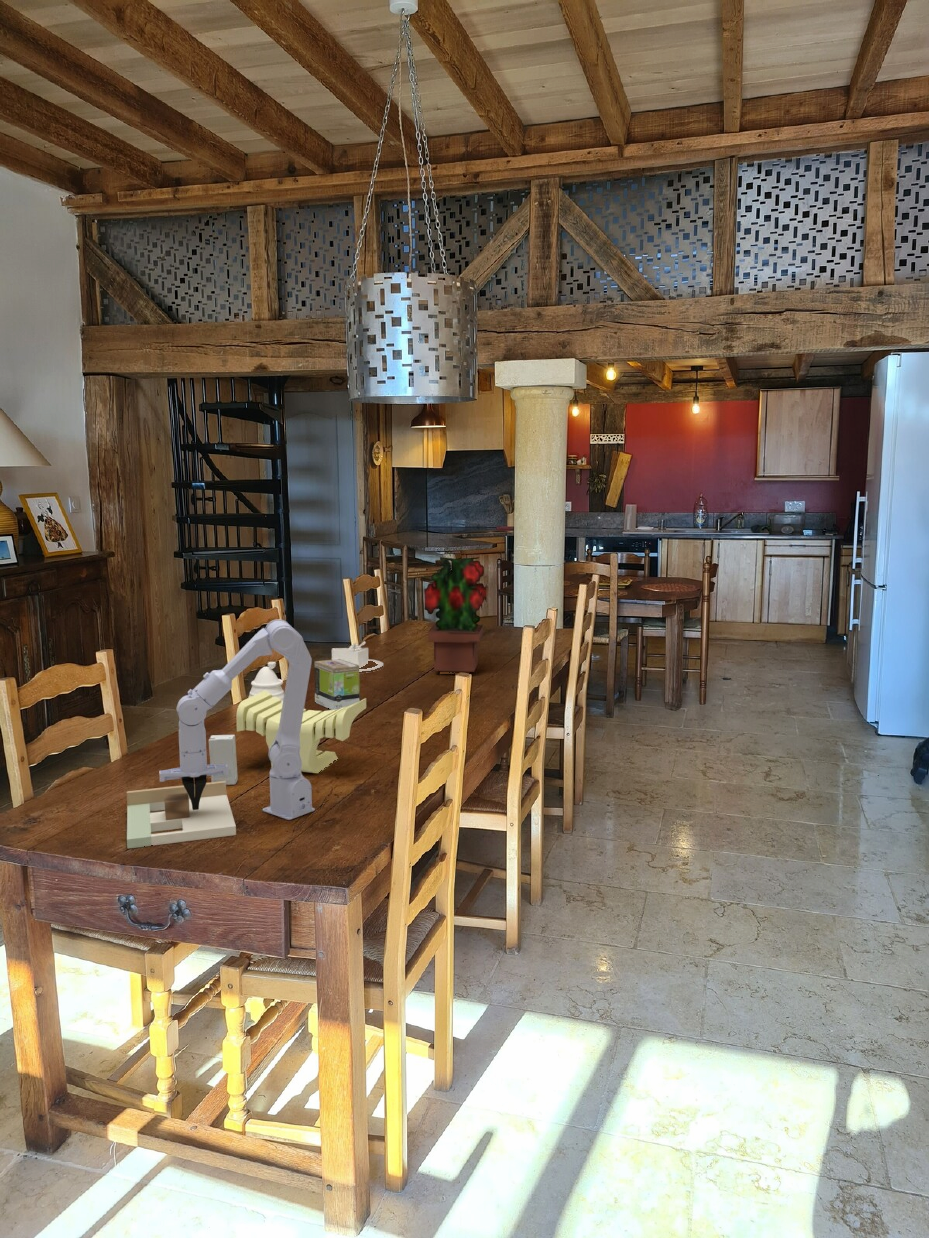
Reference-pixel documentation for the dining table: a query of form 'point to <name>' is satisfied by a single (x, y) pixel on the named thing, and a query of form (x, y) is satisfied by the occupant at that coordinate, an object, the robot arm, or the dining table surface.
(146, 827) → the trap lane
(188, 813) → the walnut block
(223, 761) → the skincare box
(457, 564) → the potted plant
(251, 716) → the slatted curved stool
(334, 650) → the white block with ring
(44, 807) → the dining table surface
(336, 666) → the tea box
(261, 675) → the honey pot
